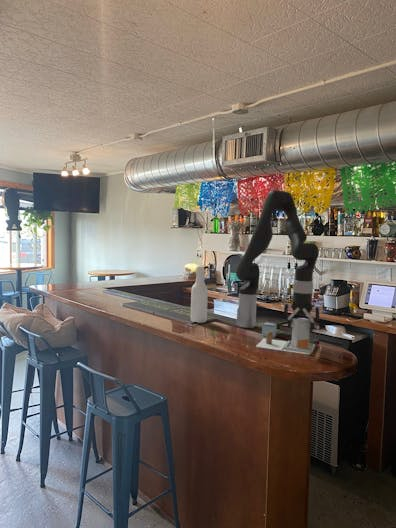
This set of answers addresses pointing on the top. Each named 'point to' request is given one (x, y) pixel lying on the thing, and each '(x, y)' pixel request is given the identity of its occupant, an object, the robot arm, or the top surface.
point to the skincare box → (300, 333)
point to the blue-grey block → (269, 328)
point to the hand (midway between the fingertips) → (300, 329)
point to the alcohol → (199, 298)
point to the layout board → (283, 345)
